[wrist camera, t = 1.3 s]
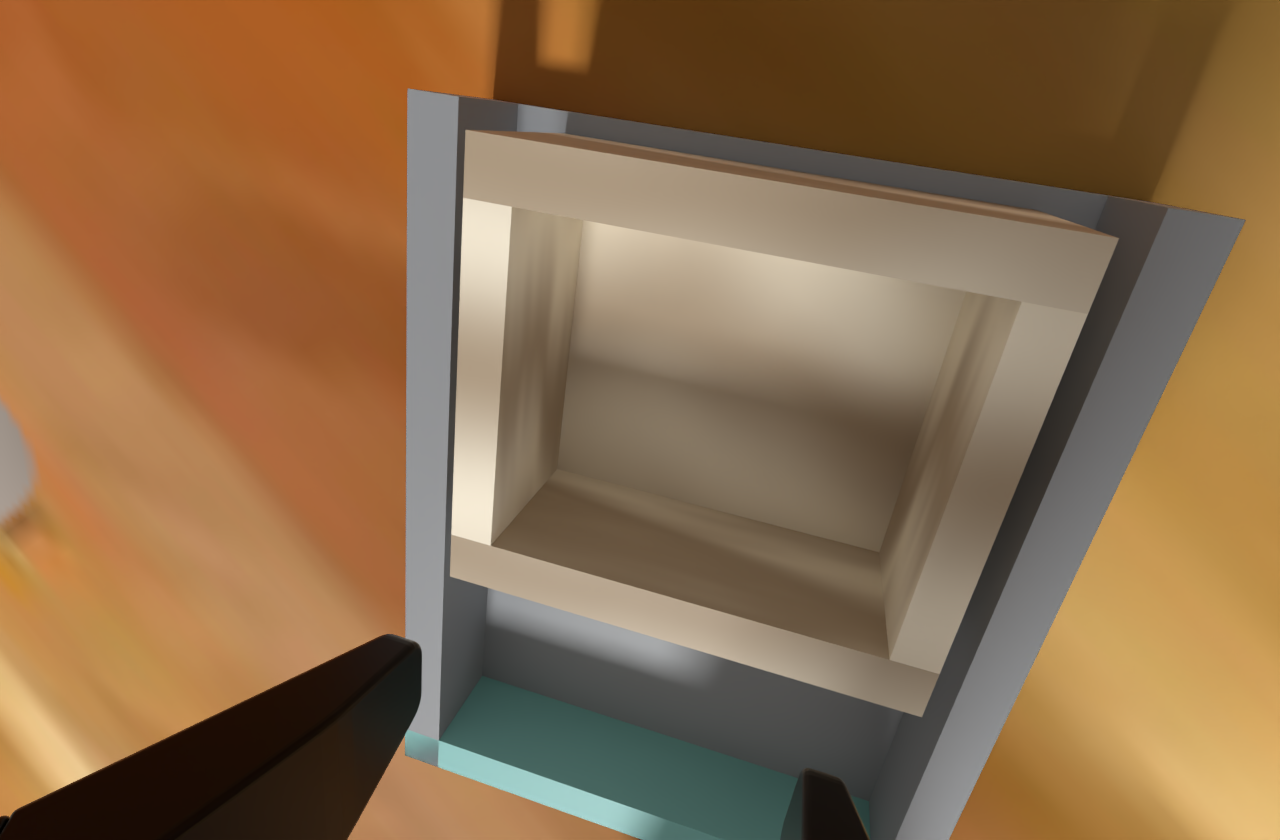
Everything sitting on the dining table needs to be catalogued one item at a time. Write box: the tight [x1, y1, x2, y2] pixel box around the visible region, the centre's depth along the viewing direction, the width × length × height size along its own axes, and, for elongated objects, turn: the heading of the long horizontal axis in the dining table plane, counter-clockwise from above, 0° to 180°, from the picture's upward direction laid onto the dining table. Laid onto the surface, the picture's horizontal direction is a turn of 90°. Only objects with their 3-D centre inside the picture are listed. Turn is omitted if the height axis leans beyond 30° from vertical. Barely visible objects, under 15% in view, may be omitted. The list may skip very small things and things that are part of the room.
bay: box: [405, 89, 1245, 840], centre depth 19 cm, size 20×16×4 cm
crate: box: [450, 130, 1119, 717], centre depth 16 cm, size 10×11×5 cm
